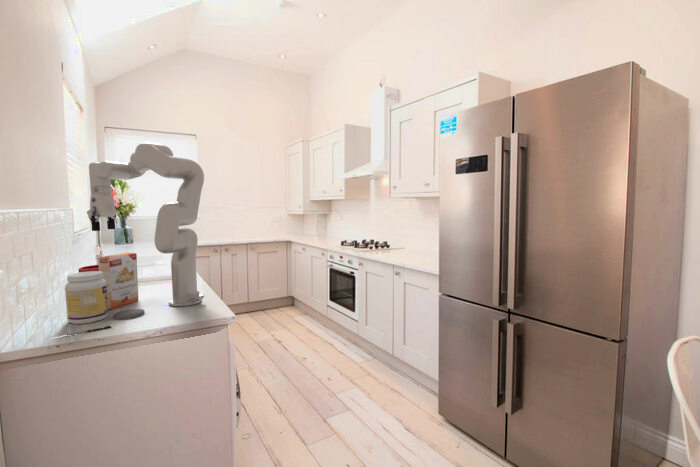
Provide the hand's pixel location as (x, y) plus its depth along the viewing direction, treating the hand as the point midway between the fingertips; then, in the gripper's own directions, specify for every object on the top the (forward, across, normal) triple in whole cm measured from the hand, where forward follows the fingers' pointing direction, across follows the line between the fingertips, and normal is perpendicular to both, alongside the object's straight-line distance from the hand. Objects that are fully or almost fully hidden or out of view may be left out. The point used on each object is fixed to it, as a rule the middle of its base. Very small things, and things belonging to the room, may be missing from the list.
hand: (104, 230), depth 161 cm
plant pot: (+30, +11, +14) cm, 35 cm away
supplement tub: (+31, -32, -14) cm, 46 cm away
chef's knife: (+31, -45, -21) cm, 59 cm away
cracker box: (+31, -12, -14) cm, 36 cm away
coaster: (+31, -27, -26) cm, 48 cm away
